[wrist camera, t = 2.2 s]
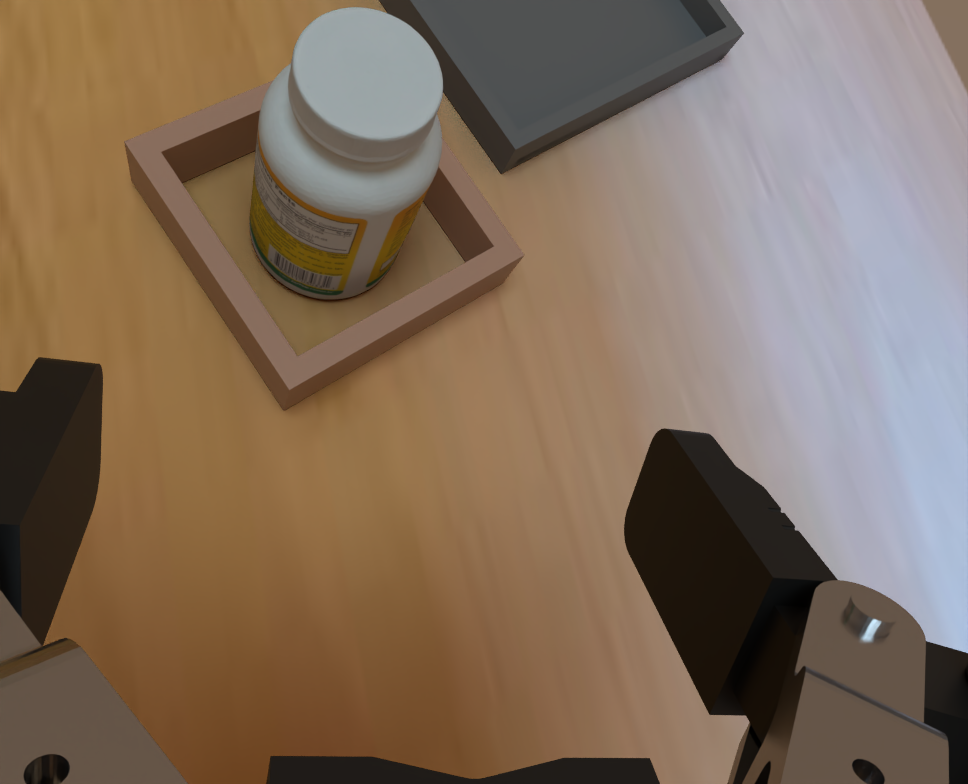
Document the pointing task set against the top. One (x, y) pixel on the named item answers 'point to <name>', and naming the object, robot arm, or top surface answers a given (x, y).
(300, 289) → the supplement bottle
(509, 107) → the tray
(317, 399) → the top surface
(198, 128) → the frame
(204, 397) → the top surface
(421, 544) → the top surface
